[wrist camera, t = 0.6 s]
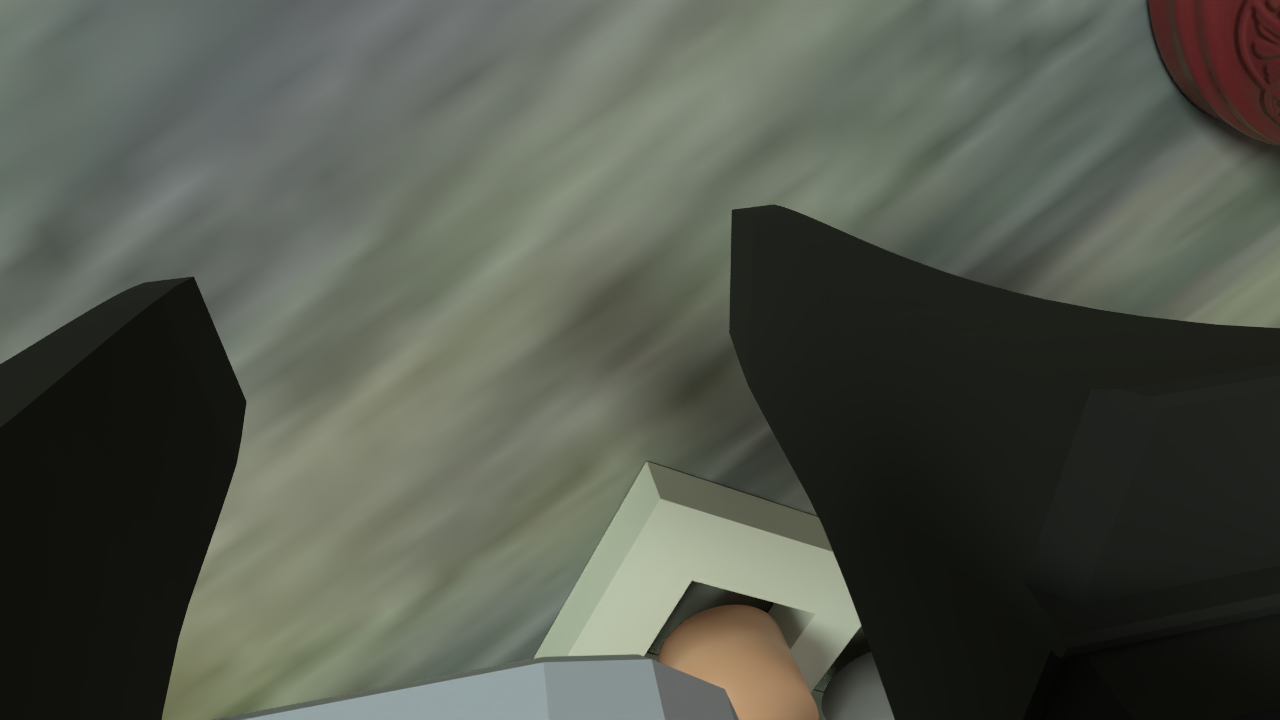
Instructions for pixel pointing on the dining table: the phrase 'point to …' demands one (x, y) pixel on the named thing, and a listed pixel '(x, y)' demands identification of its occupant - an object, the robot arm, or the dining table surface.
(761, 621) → the terracotta button
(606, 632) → the panel
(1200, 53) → the canister
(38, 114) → the dining table surface
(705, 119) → the dining table surface
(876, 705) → the charcoal button
